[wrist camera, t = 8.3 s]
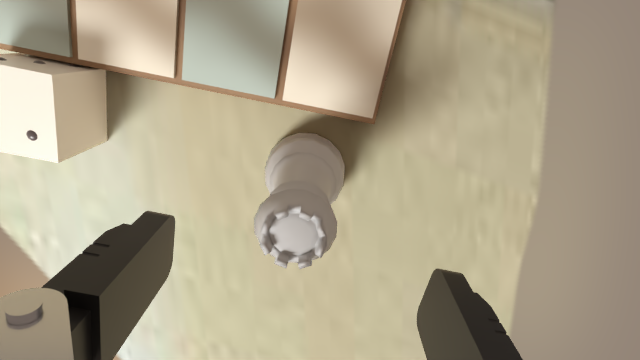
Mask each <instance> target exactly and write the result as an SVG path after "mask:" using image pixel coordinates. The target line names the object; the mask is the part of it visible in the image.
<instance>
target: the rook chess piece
mask: <svg viewBox="0 0 640 360" xmlns="http://www.w3.org/2000/svg"><path fill="white" fill-rule="evenodd" d="M344 171H345V165H344V162H343V159H342V157H341V154H340V151H339V150H338V149H337V148H336V147H335V146H334V145H333V144H332V143H331V142H330V141H329V140H328V139H325V138H323V137H321V136H319V135H317V134H314V133H296V134H294V135H291V136H288V137H285V138H283V139H282V140H281V141H280V142H279V143H278V144H277V145H275V146H274V147H273V148H272V150H271V153H270V155H269V157H268V160H267V162H266V166H265V183H266V186H267V188H268V190H269V192H270V196H269V197H268V198H267V199H266V200H265V201H264V202H263V203H262V204H260V206H259V209H258V211H257V213H256V215H255V218H254V229H255V235H256V237H257V239H258V241H259V243H260V246H261V248H262V250H263V252H264V255H267V254H268V253H269V254H270V255H272V256H273V257H276V259H275V263H274V264H276V265H279V266H281V267H284V268H287V264H288V262H295V263H298V265H299V269H301V268H305V267H308V266H311V265H312V260H314V259H317V258H319V257H320V258H321V257H322V255H323V254H324V253H325V252H326V251H328V250H329V249H330V247H331V245H332V243H333V241H334V240H335V238H336V232H337V220H336V218H335V215H334V213H333V210H332V208H331V205H330V204H331V203H333V202H334V201H335V200H336V199H337V197H338V195H339V193H340V191H341V189H342V187H343V182H344Z"/></svg>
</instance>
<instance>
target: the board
mask: <svg viewBox="0 0 640 360" xmlns="http://www.w3.org/2000/svg"><path fill="white" fill-rule="evenodd" d="M405 2H406V0H0V49H4V50H9V51H14V52H19V53H24V54H29V55H34V56H39V57H44V58H49V59H54V60H59V61H64V62H69V63H73V64H78V65H83V66H88V67H93V68H98V69H103V70H108V71H113V72H118V73H123V74H128V75H133V76H138V77H143V78H148V79H153V80H158V81H163V82H168V83H173V84H178V85H182V86H187V87H192V88H197V89H202V90H207V91H212V92H217V93H222V94H227V95H232V96H237V97H242V98H247V99H252V100H257V101H262V102H267V103H272V104H277V105H282V106H287V107H291V108H296V109H301V110H306V111H311V112H316V113H321V114H326V115H331V116H336V117H341V118H346V119H351V120H356V121H361V122H366V123H371V124H375V120H376V116H377V112H378V108H379V104H380V100H381V96H382V92H383V88H384V84H385V81H386V77H387V73H388V69H389V65H390V61H391V57H392V53H393V49H394V45H395V41H396V38H397V34H398V30H399V26H400V22H401V18H402V14H403V10H404V6H405Z"/></svg>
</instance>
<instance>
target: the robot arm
mask: <svg viewBox="0 0 640 360" xmlns="http://www.w3.org/2000/svg"><path fill="white" fill-rule="evenodd" d="M174 232H175V218H174V216H172V215H166V214H161V213H156V212H151V211H146V212H145V213H143V214H142V215H141V216H140V217H139V218H138V219H137V220H136V221H135V222H134V223H133V224H132V225H128V224H122V225H119V226H117V227H115V228H113V229H110V230H108V231H106V232H105V233H103V234H102V235H101V236H100V237H99V238H98V239H97V240H95V241H94V242H93V245H90V246H89V247H87V248H86V249H85V250H84V251H83V253H82V254H79V255H78V256H77V257H76V258H75V259H74V260H73V261H71V262H70V263H69V264H68V265H67V266H66V267H65V268H63V269H62V270H61V271H60V272H59V273H58V274H56V275H55V276H54V277H53V278H52V279H51V280H50V281H48V282H47V283H46V284H45V285H44V286H43V287H42V288H31V289H25V290H21V291H17V292H14V293H10V294H8V295H6V296H3V297H1V298H0V360H113V358H114V357H115V355H116V354H117V352H118V351H119V349H120V348H121V346H122V345H123V343H124V342H125V340H126V339H127V337H128V336H129V334H130V333H131V331H132V330H133V328H134V327H135V325H136V324H137V323H138V321H139V320H140V318H141V317H142V315H143V314H144V312H145V311H146V309H147V308H148V306H149V305H150V303H151V302H152V300H153V299H154V297H155V296H156V294H157V293H158V291H159V290H160V288H161V287H162V285H163V284H164V282H165V281H166V279H167V277H168V275H169V272H170V269H171V266H172V261H173V247H174ZM417 327H418V331H419V334H420V338H421V341H422V344H423V348H424V351H425V354H426V358H427V360H522V358H521V356H520V354H519V353H518V351H517V349H516V348H515V346H514V344H513V343H512V341H511V339H510V338H509V336H508V335H506V331H505V329H504V328H503V326H502V324H501V323H499V319H498V317H497V316H496V314H495V312H494V311H493V309H492V307H491V306H490V305H489V304H488V303H487V302H486V301H485V300H484V299H483V298H482V297H481V296H480V295H479V294H478V293H474V292H473V291H472V289H471V287H470V286H469V284H468V282H467V280H466V278H465V277H464V275H463V274H461V273H458V272H452V271H447V270H442V269H436V270H434V272H433V273H432V276H431V278H430V280H429V283H428V285H427V288H426V290H425V293H424V295H423V298H422V300H421V303H420V305H419V308H418V313H417Z"/></svg>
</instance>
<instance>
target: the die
mask: <svg viewBox="0 0 640 360" xmlns="http://www.w3.org/2000/svg"><path fill="white" fill-rule="evenodd" d="M106 141H107V96H106V70H103V69H98V68H93V67H88V66H83V65H78V64H73V63H69V62H64V61H59V60H54V59H49V58H44V57H39V56H34V55H29V54H24V53H14V54H0V152H3V153H8V154H14V155H19V156H24V157H30V158H35V159H40V160H46V161H51V162H56V163H59V162H62V161H64V160H66V159H68V158H70V157H73V156H75V155H77V154H79V153H82V152H84V151H86V150H88V149H91V148H93V147H95V146H97V145H100V144H102V143H104V142H106Z"/></svg>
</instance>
